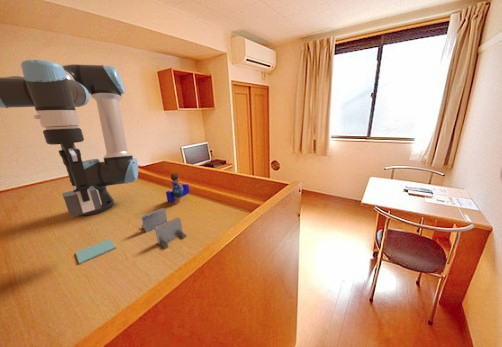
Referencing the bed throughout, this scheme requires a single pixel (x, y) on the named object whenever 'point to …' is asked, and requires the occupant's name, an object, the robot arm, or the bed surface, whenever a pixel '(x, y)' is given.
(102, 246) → the mat
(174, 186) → the toy character
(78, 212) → the grey rectangular block
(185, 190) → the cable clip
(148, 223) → the channel
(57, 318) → the bed surface
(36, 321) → the bed surface
